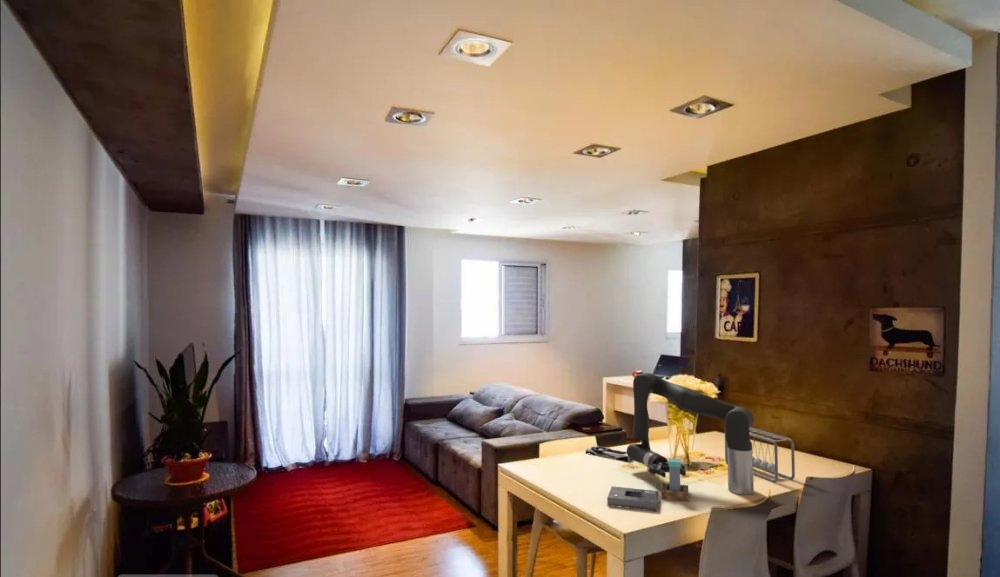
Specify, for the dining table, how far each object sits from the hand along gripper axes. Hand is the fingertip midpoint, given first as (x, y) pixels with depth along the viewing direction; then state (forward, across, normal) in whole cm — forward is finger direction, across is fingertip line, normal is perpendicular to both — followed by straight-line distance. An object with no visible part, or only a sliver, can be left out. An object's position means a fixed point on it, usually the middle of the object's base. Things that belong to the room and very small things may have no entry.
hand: (674, 474), depth 212 cm
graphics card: (-58, -3, +9) cm, 59 cm away
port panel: (+3, -19, +8) cm, 21 cm away
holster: (0, 0, +8) cm, 8 cm away
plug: (0, 0, +8) cm, 8 cm away
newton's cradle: (-20, +52, +9) cm, 56 cm away
